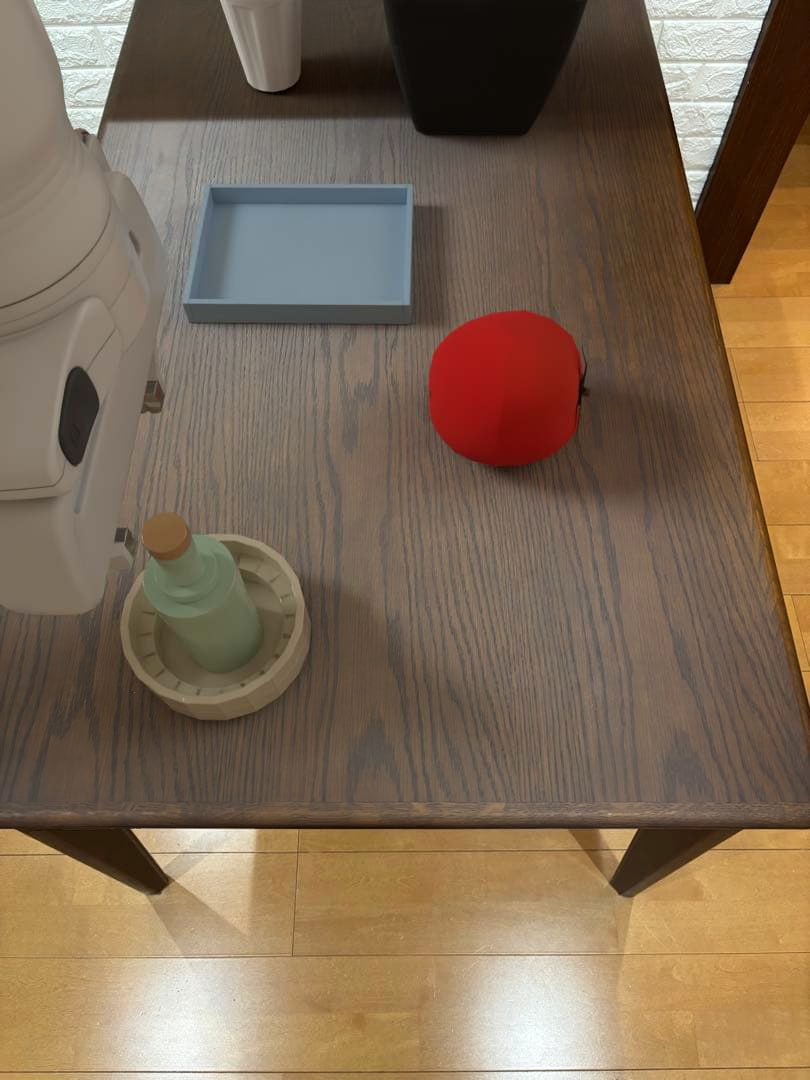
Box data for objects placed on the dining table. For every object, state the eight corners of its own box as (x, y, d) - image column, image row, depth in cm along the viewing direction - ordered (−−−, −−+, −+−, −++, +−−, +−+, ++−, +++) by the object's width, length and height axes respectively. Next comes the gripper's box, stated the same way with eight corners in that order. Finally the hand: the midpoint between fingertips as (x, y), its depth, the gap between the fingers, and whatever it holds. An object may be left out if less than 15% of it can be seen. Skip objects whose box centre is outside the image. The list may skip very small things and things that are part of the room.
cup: (334, 74, 96) (323, -49, 84) (273, 117, 92) (252, -5, 81) (274, 40, 99) (255, -83, 87) (213, 81, 95) (184, -42, 84)
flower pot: (563, 156, 89) (592, -8, 74) (387, 157, 89) (381, -6, 74) (550, 48, 97) (574, -119, 82) (390, 49, 98) (385, -116, 83)
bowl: (127, 721, 61) (104, 702, 57) (156, 561, 67) (137, 532, 63) (304, 724, 61) (295, 705, 56) (317, 563, 67) (310, 534, 62)
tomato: (422, 458, 75) (569, 471, 74) (418, 460, 62) (594, 476, 62) (435, 316, 73) (585, 328, 73) (433, 288, 61) (614, 303, 60)
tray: (188, 322, 79) (181, 303, 76) (211, 203, 86) (205, 183, 84) (410, 324, 78) (409, 305, 76) (413, 204, 86) (413, 183, 83)
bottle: (180, 672, 62) (103, 577, 47) (191, 598, 65) (122, 487, 50) (259, 673, 62) (207, 579, 47) (267, 599, 65) (221, 488, 49)
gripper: (4, 103, 36) (112, 323, 48) (-152, 515, 26) (32, 658, 39) (148, 102, 36) (220, 323, 48) (42, 517, 26) (165, 660, 38)
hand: (135, 476), depth 43 cm, fingers open, 8 cm apart
